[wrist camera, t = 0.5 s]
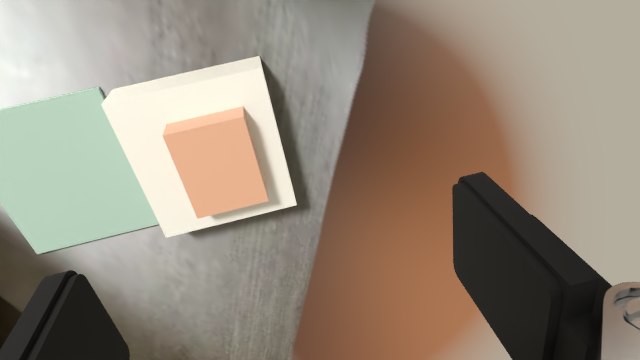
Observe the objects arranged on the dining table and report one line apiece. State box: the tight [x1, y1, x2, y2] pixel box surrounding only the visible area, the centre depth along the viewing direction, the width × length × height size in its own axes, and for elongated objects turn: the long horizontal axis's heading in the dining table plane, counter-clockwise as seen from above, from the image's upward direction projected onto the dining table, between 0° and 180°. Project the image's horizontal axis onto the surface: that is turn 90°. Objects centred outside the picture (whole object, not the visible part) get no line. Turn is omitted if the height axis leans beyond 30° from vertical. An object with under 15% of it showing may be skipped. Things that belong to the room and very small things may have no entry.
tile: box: [163, 106, 269, 219], centre depth 39 cm, size 9×7×2 cm
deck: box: [101, 56, 297, 238], centre depth 42 cm, size 15×14×4 cm
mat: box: [0, 87, 159, 254], centre depth 42 cm, size 16×14×1 cm
